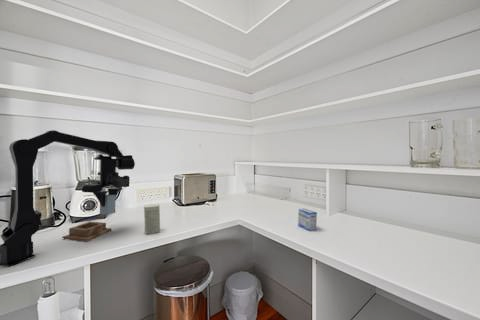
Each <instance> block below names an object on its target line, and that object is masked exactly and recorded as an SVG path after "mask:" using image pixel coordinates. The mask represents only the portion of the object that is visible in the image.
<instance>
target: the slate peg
mask: <svg viewBox="0 0 480 320" xmlns="http://www.w3.org/2000/svg"><path fill="white" fill-rule="evenodd" d="M115 197H116V198H117V196H116V195H110V194H107V193H106V197H105V206H104V207H102V206H101V204H100V203H99V215H102V216H109V215H113V214H115V213H116V198H115Z"/></svg>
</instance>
